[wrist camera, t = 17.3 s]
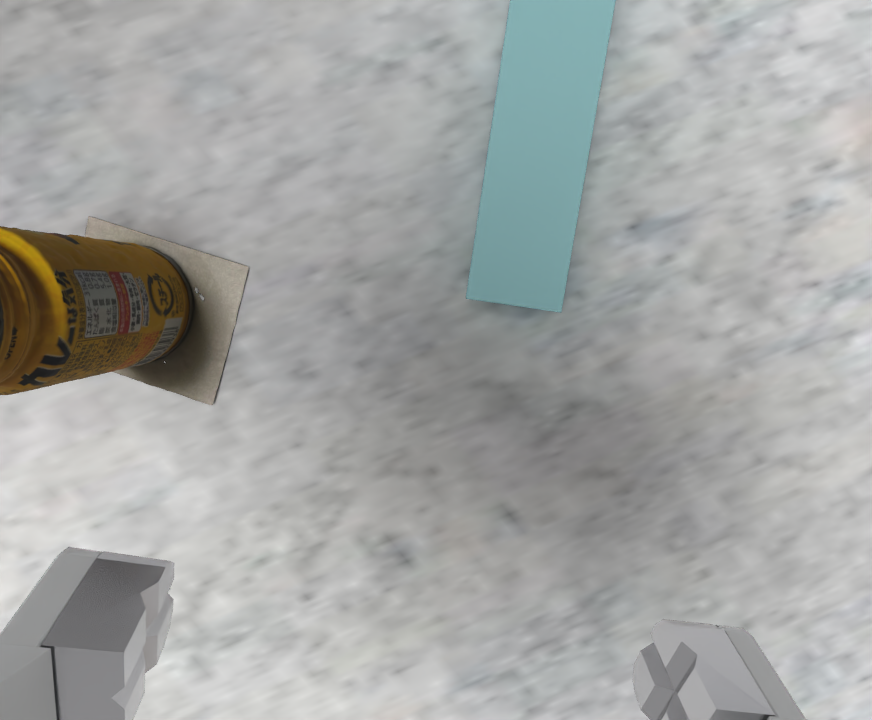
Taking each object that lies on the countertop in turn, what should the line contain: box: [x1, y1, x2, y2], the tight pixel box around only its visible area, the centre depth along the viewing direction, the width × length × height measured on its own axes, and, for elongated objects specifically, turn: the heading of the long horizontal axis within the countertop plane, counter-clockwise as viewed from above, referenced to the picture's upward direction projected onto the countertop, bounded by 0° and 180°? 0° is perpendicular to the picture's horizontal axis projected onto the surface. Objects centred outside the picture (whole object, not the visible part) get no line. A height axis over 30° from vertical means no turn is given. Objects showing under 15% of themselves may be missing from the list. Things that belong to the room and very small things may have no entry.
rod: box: [466, 0, 616, 312], centre depth 24 cm, size 22×4×4 cm, turn 172°
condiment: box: [0, 216, 249, 405], centre depth 23 cm, size 7×8×12 cm
